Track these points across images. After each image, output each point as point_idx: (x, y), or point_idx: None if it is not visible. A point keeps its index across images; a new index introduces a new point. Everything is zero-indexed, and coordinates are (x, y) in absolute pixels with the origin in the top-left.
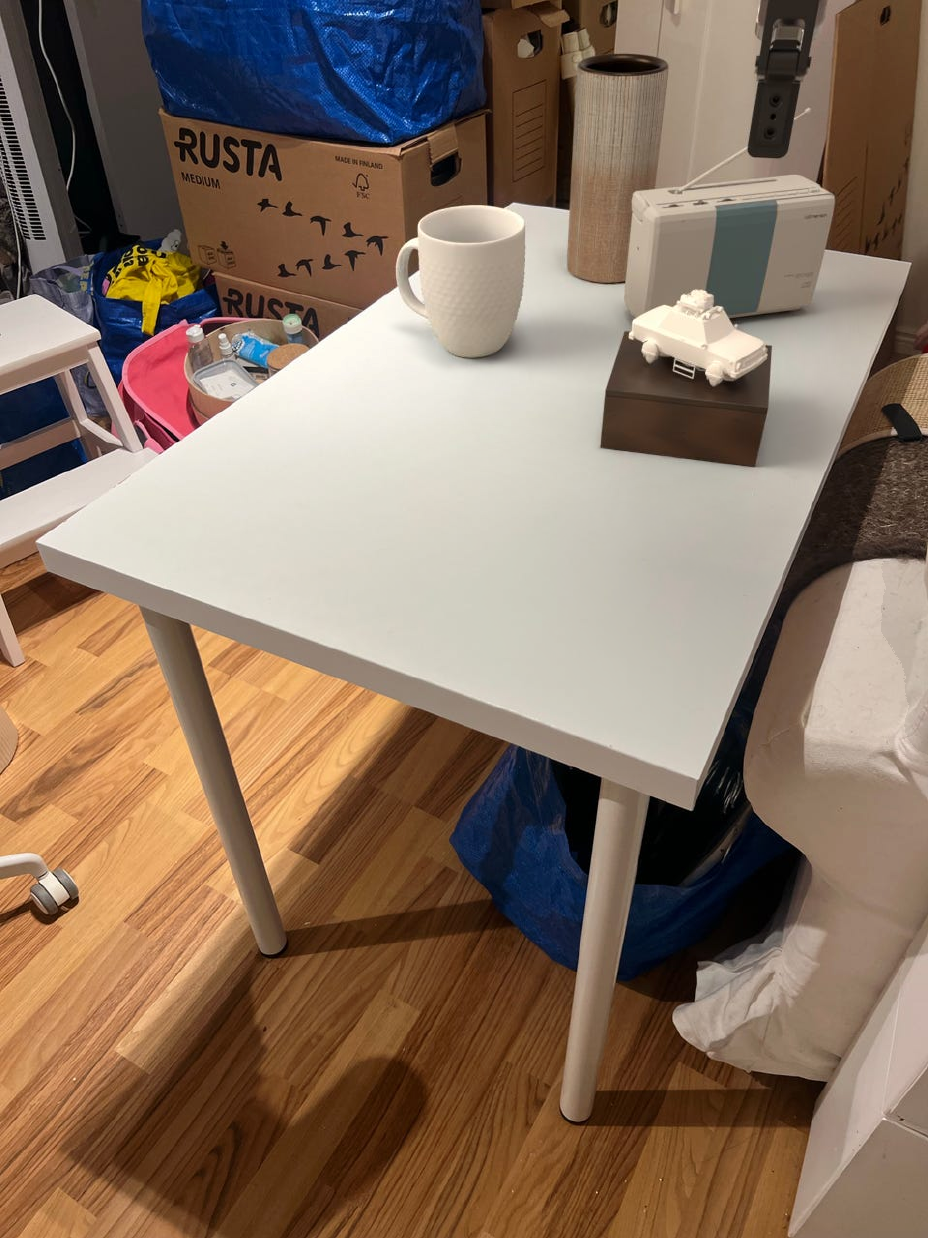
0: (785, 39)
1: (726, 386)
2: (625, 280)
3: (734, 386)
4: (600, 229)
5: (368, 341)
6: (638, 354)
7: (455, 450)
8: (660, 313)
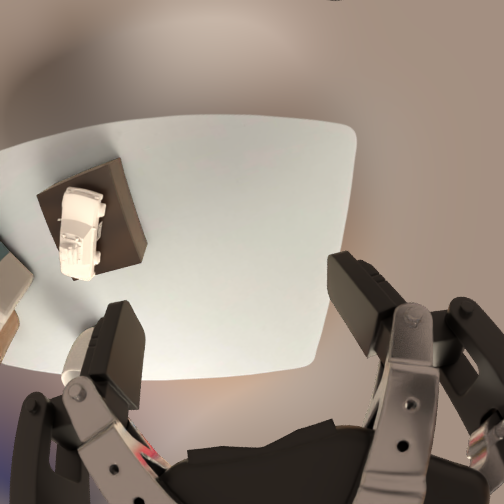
0: (117, 408)
1: None
2: None
3: None
4: (4, 331)
5: None
6: None
7: (191, 302)
8: (72, 269)
